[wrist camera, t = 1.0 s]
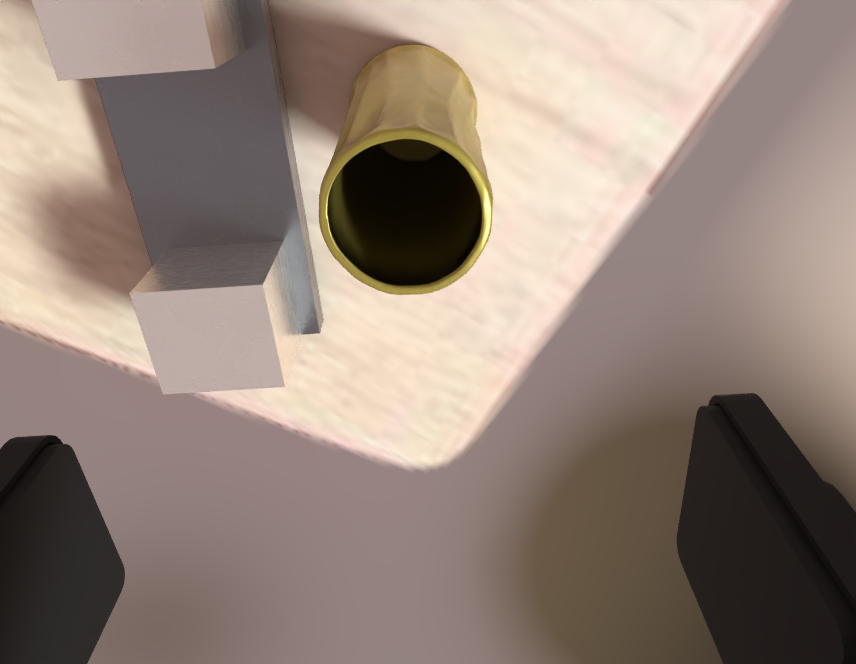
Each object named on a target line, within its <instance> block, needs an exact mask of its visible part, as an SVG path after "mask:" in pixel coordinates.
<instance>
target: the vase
mask: <svg viewBox="0 0 856 664" xmlns="http://www.w3.org/2000/svg"><path fill="white" fill-rule="evenodd" d="M476 117H477V102H476V96H475V93H474V90H473V88H472V85H471V83H470V81H469V79H468V78H467V76H466V75H465V73H464V72H463V70H462V68H461V67H460V66H459V65H458V64H457V63H456V62H455V61H454V60H452V59H451V58H450V57H448V56H447V55H445V54H444V53H442V52H440V51H438V50H436V49H433V48H431V47H428V46H423V45H403V46H397V47H394V48H391V49H388V50H386V51H384V52H382V53H380V54H379V55H377V56H376V57H374V58H373V59H372V60H371V61H370V62H369V63H368V64H367V65H366V66H365V67H364V68H363V69H362V71H361V72H360V73H359V75H358V77H357V78H356V80H355V83H354V85H353V88H352V92H351V96H350V102H349V111H348V113H347V116H346V118H345V121H344V125H343V127H342V130H341V133H340V136H339V140H338V143H337V146H336V149H335V152H334V155H333V157H332V160H331V162H330V165H329V167H328V169H327V171H326V174H325V176H324V178H323V181H322V185H321V189H320V195H319V224H320V228H321V233H322V235H323V238H324V240H325V242H326V244H327V246H328V248H329V250H330V252H331V253H332V255H333V256H334V258H335V259H336V260H337V261H338V262H339V263H340V264H341V265H342V266H343V267H344V268H345V269H346V270H347V271H348V272H349V273H350V274H351V275H352V276H354V277H355V278H356V279H358V280H359V281H361V282H362V283H364V284H366V285H368V286H370V287H372V288H375V289H377V290H379V291H382V292H385V293H389V294H397V295H410V294H425V293H431V292H434V291H437V290H440V289H442V288H444V287H446V286H448V285H450V284H452V283H453V282H455V281H457V280H458V279H459V278H461V277H462V276H463V275H464V274H466V273H467V272H468V271H469V270H470V268H471V267H472V266H473V265H474V263H475V262H476V260H477V259H478V257H479V256H480V254H481V252H482V251H483V249H484V247H485V245H486V243H487V241H488V239H489V236H490V233H491V223H492V207H493V193H492V188H491V184H490V182H489V179H488V176H487V171H486V167H485V164H484V161H483V157H482V151H481V143H480V138H479V136H478V133H477V130H476V127H475V125H476Z"/></svg>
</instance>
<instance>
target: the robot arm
mask: <svg viewBox="0 0 856 664" xmlns="http://www.w3.org/2000/svg"><path fill="white" fill-rule="evenodd" d="M677 548H678V554H679V558H680V561H681V564H682V566H683V568H684V571H685V573H686V575H687V578H688V580H689V583H690V585H691V587H692V590H693V592H694V595H695V597H696V599H697V602H698V604H699V607H700V609H701V611H702V614H703V616H704V618H705V621H706V623H707V626H708V628H709V630H710V633H711V635H712V638H713V640H714V642H715V645H716V647H717V650H718V652H719V654H720V657H721V659H722V662H723V664H856V512H855V511H854V510H853V509H852V507H851V506H850V505H849V503H848V502H847V501H846V499H845V498H844V497H843V496H842V494H841V493H840V492H839V491H838V490H837V489H836V488H835V487H834V486H833V485H831V484H829V483H827V482H825V481H823V480H822V479H821V478H820V477H819V475H818V474H817V472H816V471H815V470H814V468H813V467H812V466H811V464H810V463H809V462H808V461H807V459H806V458H805V456H804V455H803V454H802V453H801V451H800V450H799V448H798V447H797V446H796V444H795V443H794V442H793V441H792V439H791V438H790V436H789V435H788V434H787V433H786V431H785V430H784V428H783V427H782V426H781V424H780V423H779V422H778V420H777V419H776V418H775V416H774V415H773V414H772V412H771V411H770V410H769V408H768V407H767V406H766V404H765V403H764V402H763V400H762V399H761V398H760V397H759V396H758V395H757V394H753V393H747V394H731V395H715V396H713V397H712V398H711V400H710V401H709V405H708V406H702V407H700V408H699V409H698V411H697V416H696V421H695V427H694V434H693V440H692V446H691V452H690V458H689V465H688V471H687V477H686V483H685V489H684V495H683V502H682V508H681V514H680V520H679V526H678V533H677ZM124 577H125V571H124V566H123V563H122V561H121V559H120V556H119V554H118V552H117V549H116V547H115V545H114V542H113V540H112V538H111V535H110V533H109V531H108V529H107V526H106V524H105V522H104V519H103V517H102V515H101V512H100V510H99V508H98V506H97V503H96V501H95V499H94V496H93V494H92V492H91V489H90V487H89V485H88V482H87V480H86V478H85V476H84V473H83V471H82V469H81V466H80V464H79V462H78V460H77V457H76V455H75V453H74V451H73V449H72V447H70V446H69V445H67V444H63V443H62V442H61V440H60V439H59V438H58V437H56V436H52V435H45V436H28V437H15V438H12V439H10V440H9V441H7V442H6V443H5V444H4V445H3V447H2V448H1V449H0V664H87V663H88V661H89V659H90V657H91V654H92V652H93V650H94V648H95V646H96V644H97V642H98V640H99V637H100V636H101V633H102V631H103V629H104V627H105V625H106V623H107V620H108V618H109V616H110V614H111V612H112V610H113V608H114V606H115V604H116V601H117V600H118V597H119V595H120V593H121V591H122V588H123V585H124V579H125V578H124Z"/></svg>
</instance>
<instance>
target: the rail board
mask: <svg viewBox="0 0 856 664" xmlns="http://www.w3.org/2000/svg"><path fill="white" fill-rule="evenodd" d="M31 1H32V4H33V7H34V10H35V13H36V16H37V19H38V22H39V25H40V28H41V31H42V34H43V37H44V40H45V43H46V46H47V49H48V52H49V55H50V58H51V61H52V64H53V67H54V70H55V73H56V76H57V79H58V81H60V80H73V79H86V78H95V81H96V84H97V87H98V90H99V94H100V97H101V100H102V103H103V107H104V110H105V113H106V117H107V120H108V123H109V126H110V130H111V133H112V136H113V139H114V143H115V146H116V149H117V152H118V156H119V159H120V162H121V165H122V169H123V172H124V175H125V178H126V182H127V185H128V188H129V191H130V195H131V198H132V201H133V204H134V208H135V211H136V214H137V217H138V221H139V224H140V227H141V230H142V234H143V237H144V240H145V243H146V247H147V250H148V253H149V256H150V260H151V263H152V267H151V269H150V270H149V271H148V272H147V273H146V274H145V276H144V277H143V278H142V279H141V280H140V282H139V283H138V284H137V285H136V286H135V287H134V289H133V290H132V291H131V292H130V293H129V294H130V297H131V300H132V303H133V306H134V309H135V312H136V315H137V318H138V321H139V324H140V327H141V330H142V333H143V336H144V339H145V342H146V345H147V348H148V351H149V354H150V357H151V360H152V363H153V366H154V369H155V372H156V375H157V378H158V381H159V384H160V387H161V390H162V392H163V394H177V393H193V392H209V391H225V390H241V389H257V388H274V387H285V386H286V383H287V379H288V376H289V373H290V370H291V367H292V364H293V360H294V357H295V354H296V351H297V348H298V345H299V341H300V338H301V335H302V334H315V333H320V331H321V327H322V323H323V315H322V309H321V303H320V297H319V291H318V286H317V280H316V274H315V268H314V263H313V257H312V251H311V245H310V239H309V234H308V228H307V222H306V216H305V211H304V205H303V199H302V193H301V187H300V182H299V176H298V170H297V164H296V159H295V153H294V147H293V141H292V135H291V130H290V124H289V118H288V112H287V106H286V101H285V95H284V89H283V83H282V78H281V72H280V66H279V60H278V54H277V49H276V43H275V37H274V31H273V26H272V20H271V14H270V8H269V2H268V0H31Z"/></svg>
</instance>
